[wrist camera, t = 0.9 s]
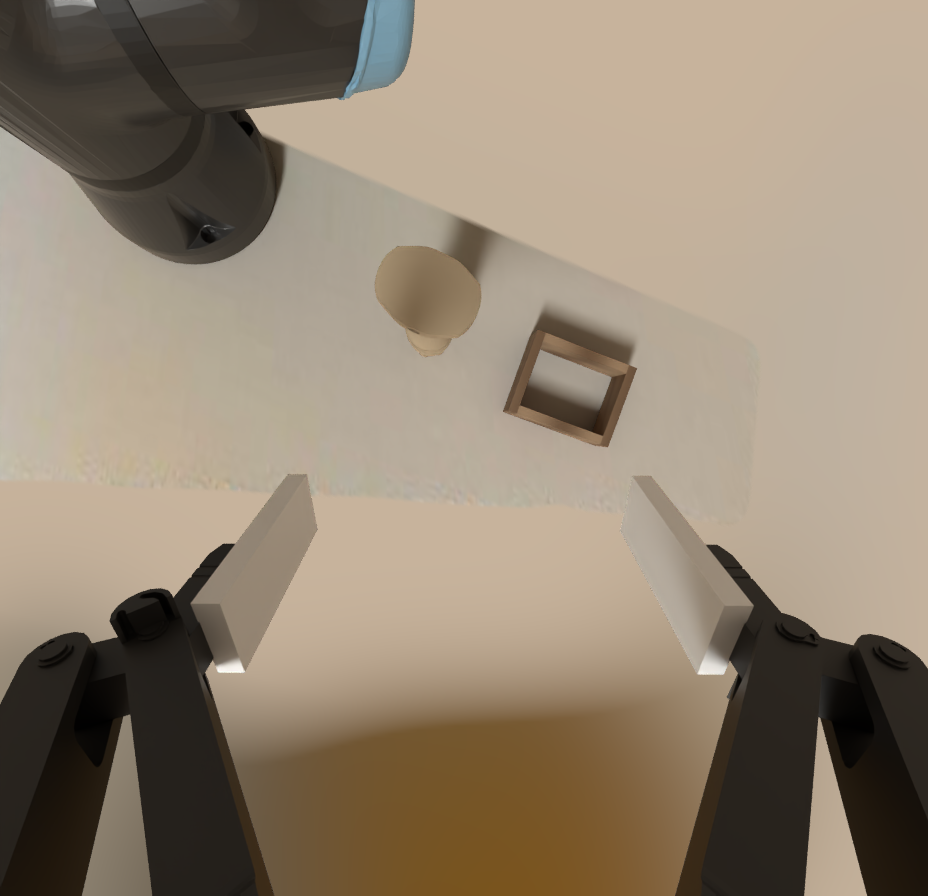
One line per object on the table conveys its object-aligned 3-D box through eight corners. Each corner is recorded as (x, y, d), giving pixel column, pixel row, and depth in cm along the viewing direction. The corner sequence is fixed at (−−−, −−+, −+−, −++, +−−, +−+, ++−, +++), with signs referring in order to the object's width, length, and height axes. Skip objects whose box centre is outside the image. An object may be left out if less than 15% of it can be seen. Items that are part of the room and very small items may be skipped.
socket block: (502, 411, 41) (508, 410, 38) (530, 336, 40) (537, 329, 38) (595, 445, 42) (608, 447, 39) (622, 372, 41) (637, 368, 38)
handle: (408, 304, 39) (394, 230, 25) (470, 332, 40) (492, 276, 25) (388, 350, 40) (363, 305, 25) (450, 378, 40) (461, 350, 25)
